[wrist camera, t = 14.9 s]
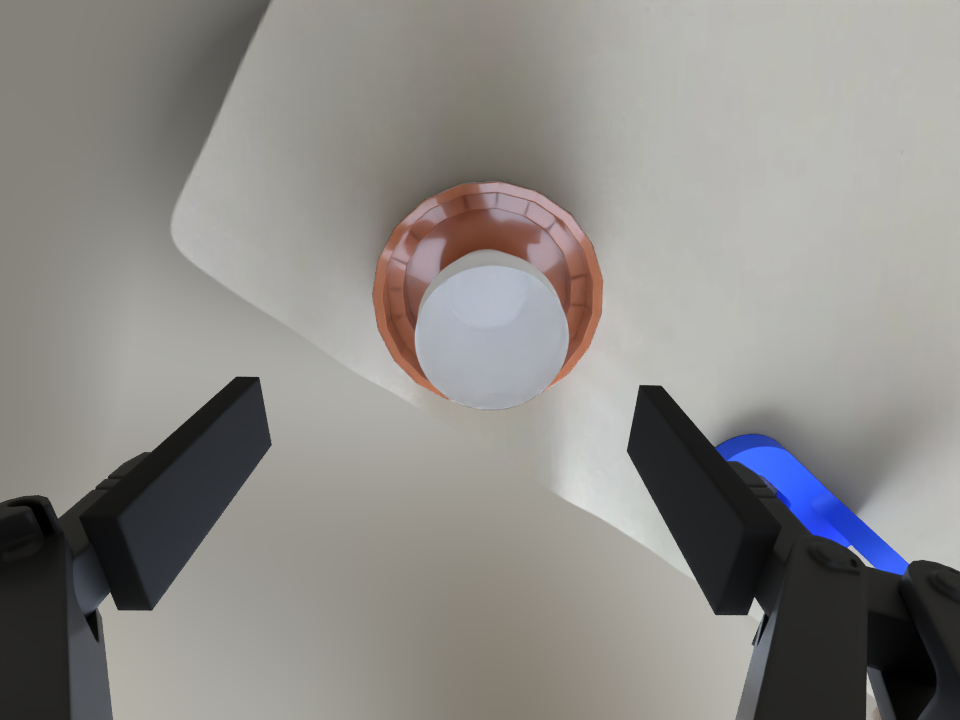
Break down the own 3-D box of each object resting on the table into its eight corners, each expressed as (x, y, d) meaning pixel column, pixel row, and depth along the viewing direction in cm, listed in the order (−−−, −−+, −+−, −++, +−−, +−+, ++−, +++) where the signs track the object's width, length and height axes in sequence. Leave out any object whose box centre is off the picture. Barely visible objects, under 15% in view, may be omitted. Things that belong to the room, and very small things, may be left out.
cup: (562, 304, 37) (600, 362, 26) (472, 361, 39) (471, 437, 27) (503, 208, 34) (517, 227, 23) (408, 275, 36) (378, 322, 25)
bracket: (854, 516, 47) (937, 591, 38) (786, 562, 49) (850, 641, 41) (753, 418, 42) (821, 479, 33) (683, 473, 44) (731, 543, 36)
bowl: (352, 318, 38) (335, 339, 33) (451, 134, 32) (447, 128, 28) (514, 408, 41) (518, 438, 36) (627, 256, 36) (650, 268, 31)
